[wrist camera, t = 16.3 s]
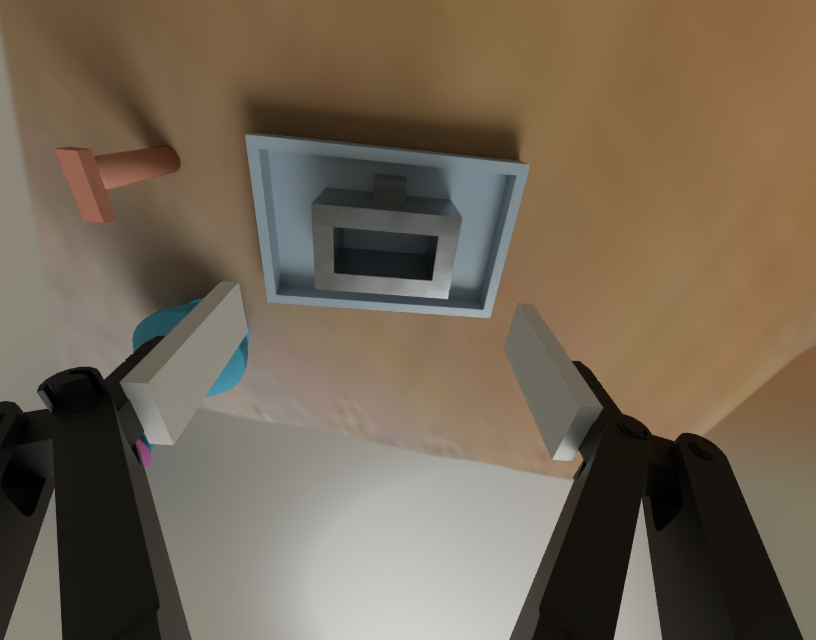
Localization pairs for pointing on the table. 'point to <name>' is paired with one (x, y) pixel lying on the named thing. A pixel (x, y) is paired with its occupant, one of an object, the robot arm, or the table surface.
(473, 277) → the tray
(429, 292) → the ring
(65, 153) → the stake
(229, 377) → the perfume bottle
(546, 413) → the robot arm
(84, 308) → the table surface
